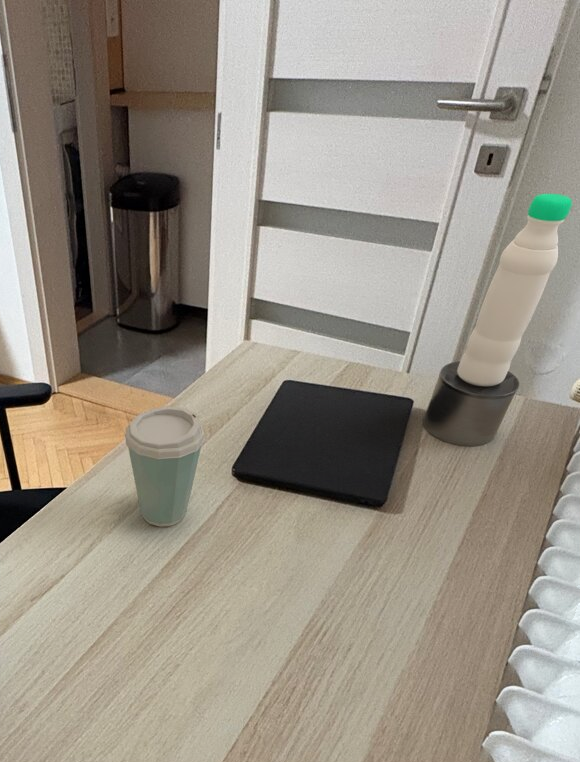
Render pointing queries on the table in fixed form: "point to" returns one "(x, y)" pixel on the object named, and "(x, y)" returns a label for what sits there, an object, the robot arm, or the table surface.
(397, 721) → the table surface
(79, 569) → the table surface
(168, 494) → the disposable coffee cup
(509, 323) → the water bottle
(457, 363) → the tin
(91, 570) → the table surface
